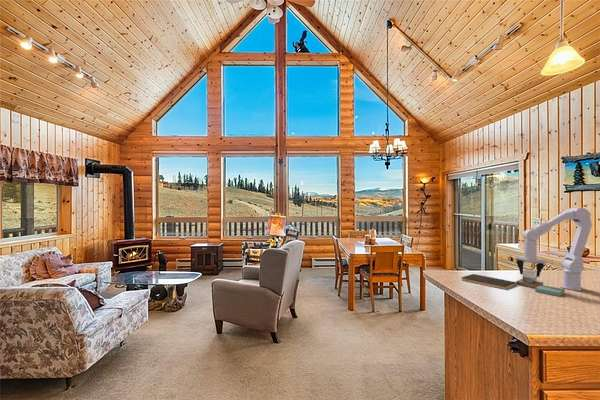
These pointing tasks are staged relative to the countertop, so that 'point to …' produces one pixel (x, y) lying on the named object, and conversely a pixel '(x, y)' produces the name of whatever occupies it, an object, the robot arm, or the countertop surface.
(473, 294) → the countertop surface
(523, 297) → the countertop surface
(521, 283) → the stand
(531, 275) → the block
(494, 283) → the hardcover book
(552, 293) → the stand
